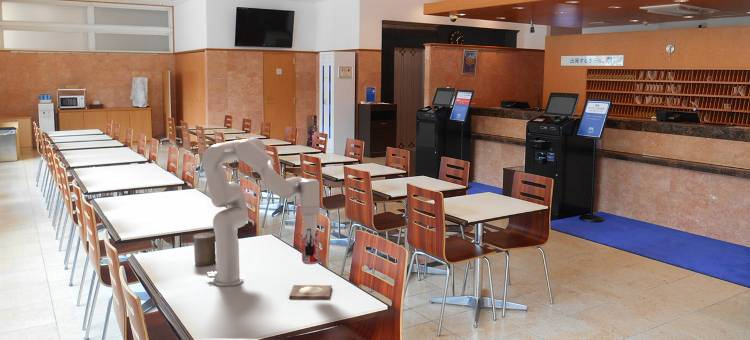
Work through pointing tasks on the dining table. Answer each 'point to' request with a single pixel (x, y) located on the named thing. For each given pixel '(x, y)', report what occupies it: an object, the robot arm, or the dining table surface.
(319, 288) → the board
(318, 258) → the soda can
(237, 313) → the dining table surface
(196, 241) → the pillar candle
